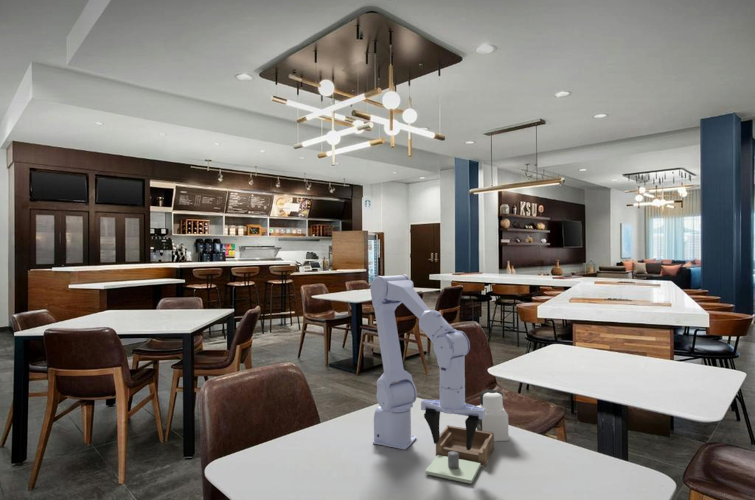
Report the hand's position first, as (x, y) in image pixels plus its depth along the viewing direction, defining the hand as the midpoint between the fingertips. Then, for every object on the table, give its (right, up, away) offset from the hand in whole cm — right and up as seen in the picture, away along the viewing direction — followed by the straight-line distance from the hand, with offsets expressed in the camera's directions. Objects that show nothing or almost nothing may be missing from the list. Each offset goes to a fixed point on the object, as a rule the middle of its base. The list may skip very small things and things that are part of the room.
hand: (452, 445), depth 101 cm
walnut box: (+5, -6, +9) cm, 12 cm away
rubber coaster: (0, -6, 0) cm, 6 cm away
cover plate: (0, -6, 0) cm, 6 cm away
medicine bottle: (+14, -6, +19) cm, 25 cm away
